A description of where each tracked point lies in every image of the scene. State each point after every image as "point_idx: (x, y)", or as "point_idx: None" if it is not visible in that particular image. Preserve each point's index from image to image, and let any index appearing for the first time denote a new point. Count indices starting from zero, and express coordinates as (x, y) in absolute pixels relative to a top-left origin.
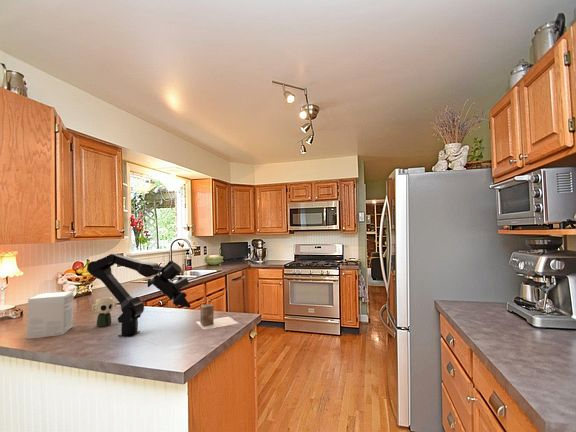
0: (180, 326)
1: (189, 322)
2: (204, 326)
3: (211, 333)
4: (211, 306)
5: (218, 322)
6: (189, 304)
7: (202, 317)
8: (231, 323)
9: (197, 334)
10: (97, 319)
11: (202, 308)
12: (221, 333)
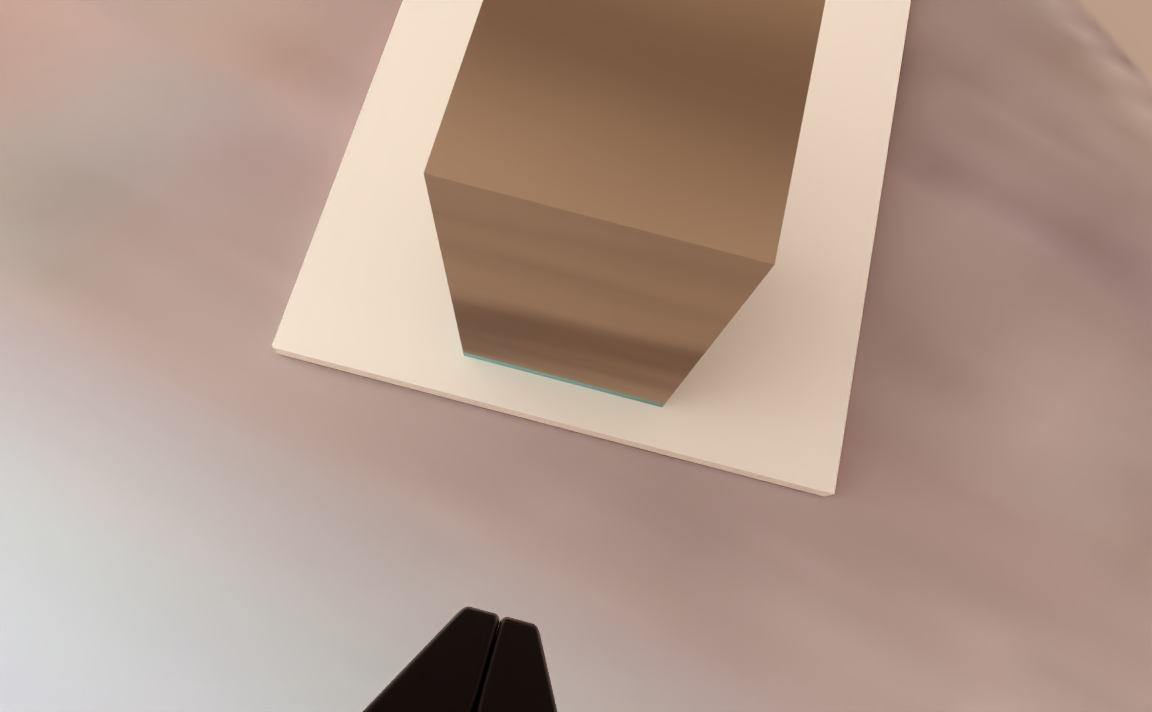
0: (191, 680)
1: (105, 416)
2: None
3: (1032, 460)
4: (814, 35)
5: None
6: (548, 700)
7: (638, 347)
8: (854, 9)
9: (921, 665)
10: None
11: (679, 264)
12: (1134, 350)
